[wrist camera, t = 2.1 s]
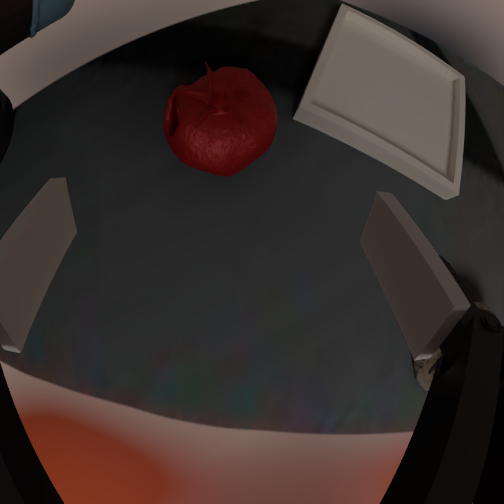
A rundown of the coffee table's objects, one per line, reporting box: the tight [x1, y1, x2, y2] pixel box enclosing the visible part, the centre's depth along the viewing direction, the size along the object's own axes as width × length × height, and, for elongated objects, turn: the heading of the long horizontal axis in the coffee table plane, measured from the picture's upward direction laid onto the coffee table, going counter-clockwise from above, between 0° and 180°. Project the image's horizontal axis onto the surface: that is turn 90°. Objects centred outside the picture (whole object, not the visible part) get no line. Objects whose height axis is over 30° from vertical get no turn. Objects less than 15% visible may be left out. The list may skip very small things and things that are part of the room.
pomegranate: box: [164, 62, 278, 177], centre depth 25 cm, size 10×10×9 cm
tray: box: [293, 4, 465, 200], centre depth 32 cm, size 20×20×2 cm
